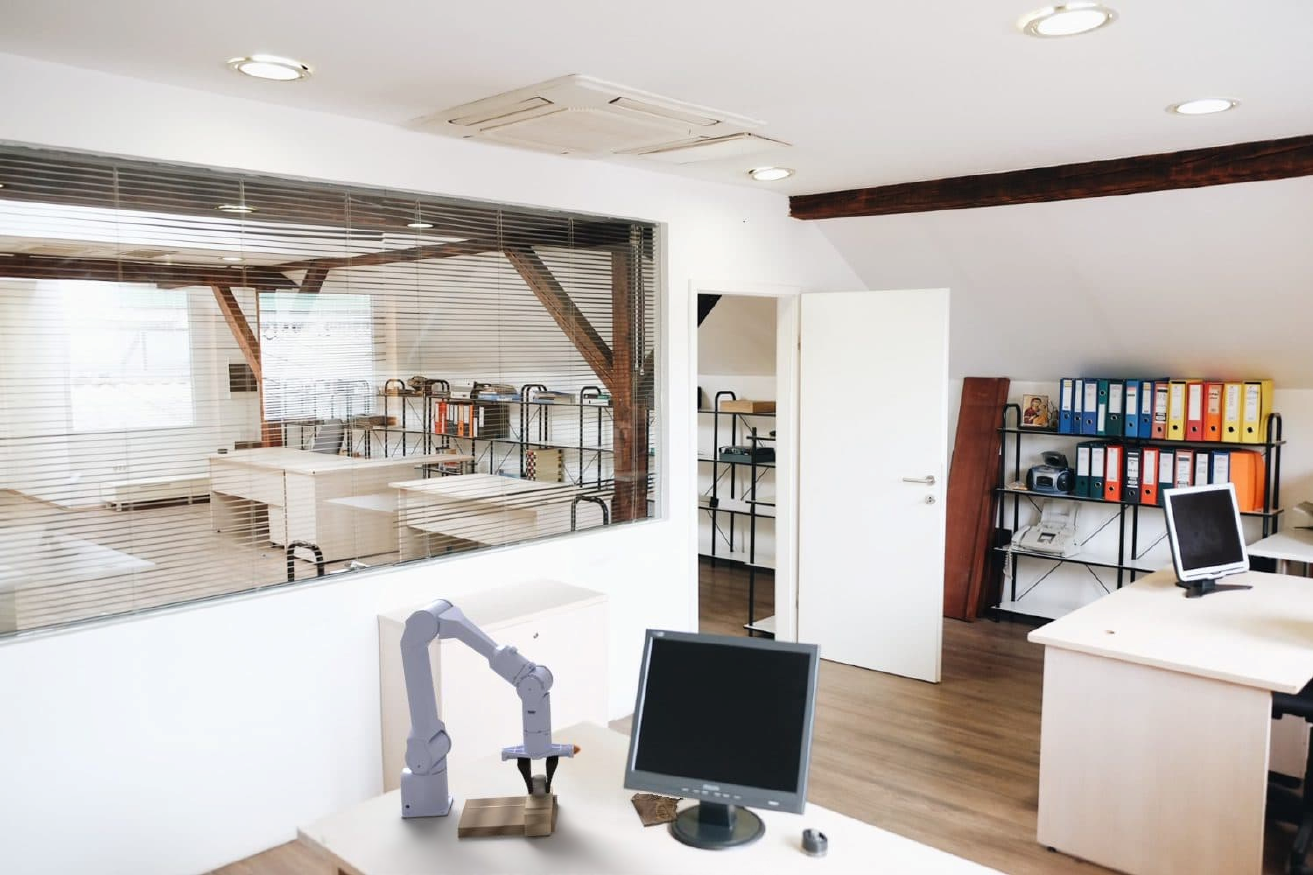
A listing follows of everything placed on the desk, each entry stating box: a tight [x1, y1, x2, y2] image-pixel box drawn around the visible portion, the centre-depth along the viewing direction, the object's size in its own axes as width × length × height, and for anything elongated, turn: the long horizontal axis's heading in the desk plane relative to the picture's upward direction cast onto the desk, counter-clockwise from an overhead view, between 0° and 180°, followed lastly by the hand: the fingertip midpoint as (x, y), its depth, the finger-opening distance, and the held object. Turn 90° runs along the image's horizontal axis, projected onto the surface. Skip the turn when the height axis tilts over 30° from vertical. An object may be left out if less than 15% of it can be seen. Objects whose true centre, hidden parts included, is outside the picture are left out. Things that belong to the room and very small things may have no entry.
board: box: [457, 794, 558, 839], centre depth 194 cm, size 19×12×2 cm, turn 93°
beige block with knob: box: [524, 773, 556, 837], centre depth 192 cm, size 6×12×8 cm, turn 3°
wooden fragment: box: [630, 792, 681, 828], centre depth 203 cm, size 26×11×1 cm, turn 169°
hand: (539, 791), depth 194 cm, fingers closed on beige block with knob, 3 cm apart
